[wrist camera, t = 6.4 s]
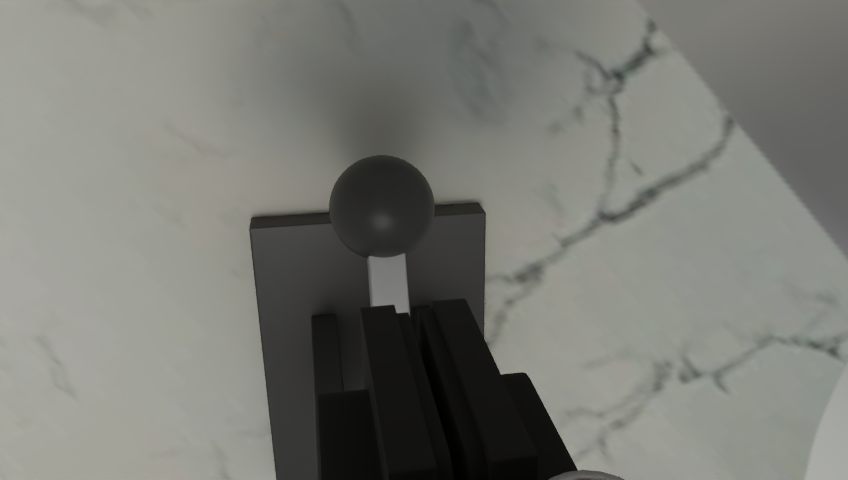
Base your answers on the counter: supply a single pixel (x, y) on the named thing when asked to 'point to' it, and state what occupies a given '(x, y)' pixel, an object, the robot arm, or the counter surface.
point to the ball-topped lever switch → (383, 221)
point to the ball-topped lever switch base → (341, 313)
